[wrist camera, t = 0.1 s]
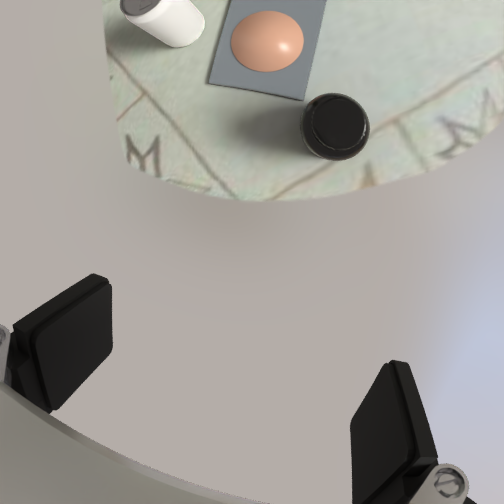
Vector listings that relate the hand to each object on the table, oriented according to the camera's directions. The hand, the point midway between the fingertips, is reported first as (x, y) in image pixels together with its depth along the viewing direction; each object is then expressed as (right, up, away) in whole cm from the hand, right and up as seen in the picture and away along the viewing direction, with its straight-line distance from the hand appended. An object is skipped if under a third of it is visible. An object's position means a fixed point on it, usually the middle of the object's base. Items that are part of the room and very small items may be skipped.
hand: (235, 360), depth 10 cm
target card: (+3, +32, +22) cm, 40 cm away
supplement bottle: (+10, +18, +26) cm, 33 cm away
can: (-9, +34, +25) cm, 43 cm away
